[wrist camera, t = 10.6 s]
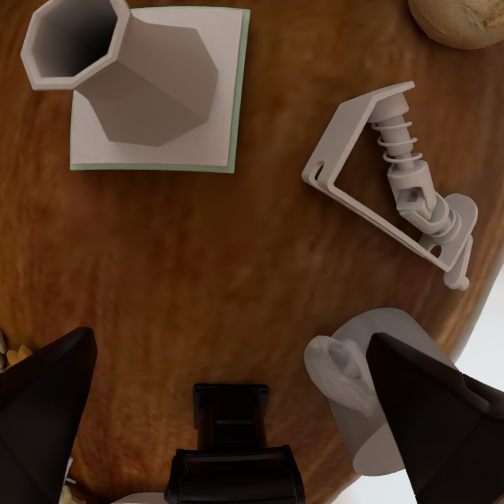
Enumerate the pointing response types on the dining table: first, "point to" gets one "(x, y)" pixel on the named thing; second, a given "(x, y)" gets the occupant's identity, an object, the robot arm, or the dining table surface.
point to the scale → (197, 139)
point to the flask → (122, 68)
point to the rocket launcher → (67, 473)
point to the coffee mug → (363, 384)
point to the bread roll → (460, 21)
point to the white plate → (143, 498)
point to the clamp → (398, 181)
